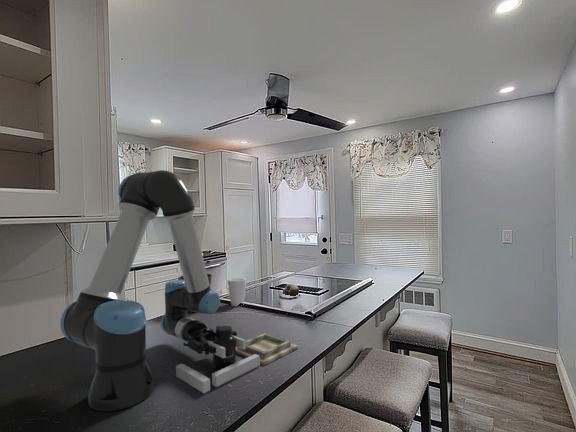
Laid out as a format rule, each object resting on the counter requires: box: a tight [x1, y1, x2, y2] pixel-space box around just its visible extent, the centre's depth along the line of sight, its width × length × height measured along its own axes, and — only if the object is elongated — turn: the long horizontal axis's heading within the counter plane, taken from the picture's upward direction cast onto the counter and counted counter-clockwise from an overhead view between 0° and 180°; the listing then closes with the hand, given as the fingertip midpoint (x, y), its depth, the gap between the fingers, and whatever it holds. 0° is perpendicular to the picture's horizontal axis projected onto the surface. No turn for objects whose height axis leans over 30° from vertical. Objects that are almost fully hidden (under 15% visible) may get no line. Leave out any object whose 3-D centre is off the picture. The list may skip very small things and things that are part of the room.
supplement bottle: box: [212, 325, 237, 372], centre depth 98 cm, size 7×7×12 cm
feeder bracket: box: [175, 354, 261, 394], centre depth 97 cm, size 20×14×3 cm
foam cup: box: [227, 276, 247, 307], centre depth 167 cm, size 10×9×13 cm
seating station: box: [236, 333, 299, 366], centre depth 111 cm, size 16×16×2 cm
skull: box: [281, 282, 300, 296], centre depth 181 cm, size 12×10×10 cm
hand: (234, 348), depth 95 cm, fingers closed on supplement bottle, 7 cm apart
